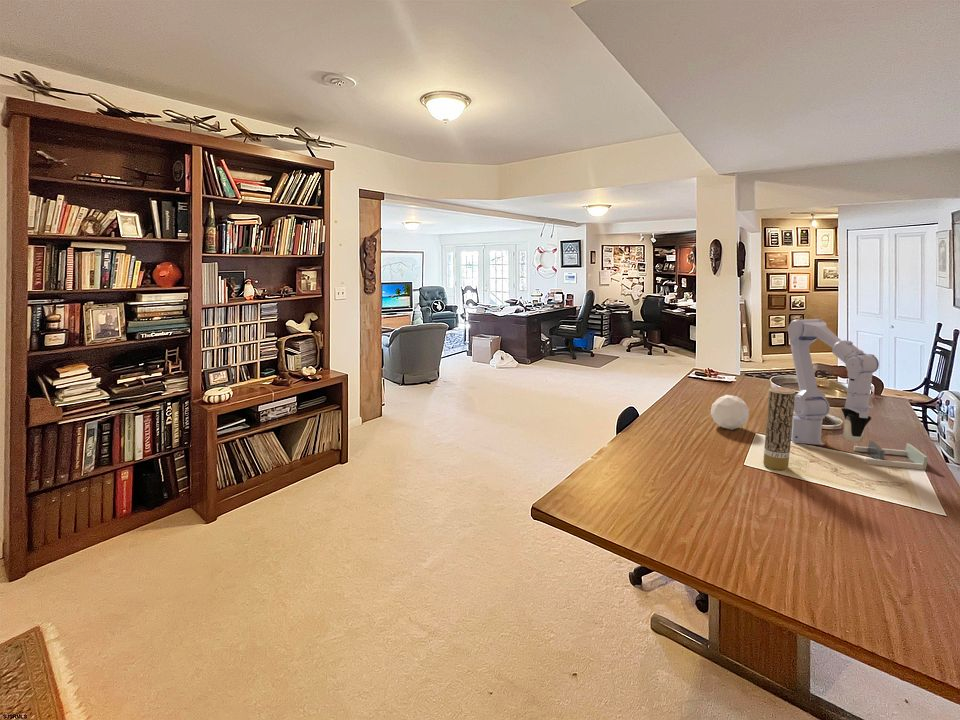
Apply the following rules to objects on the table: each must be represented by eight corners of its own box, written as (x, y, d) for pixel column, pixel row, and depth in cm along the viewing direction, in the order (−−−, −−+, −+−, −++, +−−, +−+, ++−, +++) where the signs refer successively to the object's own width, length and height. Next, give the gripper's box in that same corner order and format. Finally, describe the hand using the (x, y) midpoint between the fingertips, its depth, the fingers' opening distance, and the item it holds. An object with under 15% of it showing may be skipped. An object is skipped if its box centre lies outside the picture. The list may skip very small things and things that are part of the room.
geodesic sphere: (698, 407, 200) (711, 386, 190) (729, 405, 201) (744, 384, 191) (713, 436, 190) (727, 416, 180) (745, 434, 192) (762, 414, 182)
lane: (866, 463, 154) (868, 451, 153) (853, 450, 165) (854, 438, 165) (925, 469, 148) (927, 457, 148) (908, 455, 160) (909, 443, 159)
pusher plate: (878, 462, 154) (880, 450, 153) (867, 451, 163) (869, 440, 162) (882, 462, 153) (884, 450, 153) (871, 452, 162) (872, 440, 162)
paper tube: (758, 463, 156) (764, 387, 152) (778, 461, 157) (785, 386, 152) (772, 471, 149) (779, 392, 145) (793, 470, 150) (800, 391, 146)
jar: (845, 441, 155) (848, 419, 154) (841, 436, 160) (843, 414, 158) (864, 442, 153) (867, 420, 152) (859, 437, 158) (862, 416, 156)
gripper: (882, 399, 145) (876, 442, 148) (866, 388, 159) (861, 427, 161) (854, 397, 148) (848, 439, 151) (840, 386, 161) (835, 425, 164)
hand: (853, 433), depth 156 cm, fingers closed on jar, 5 cm apart
